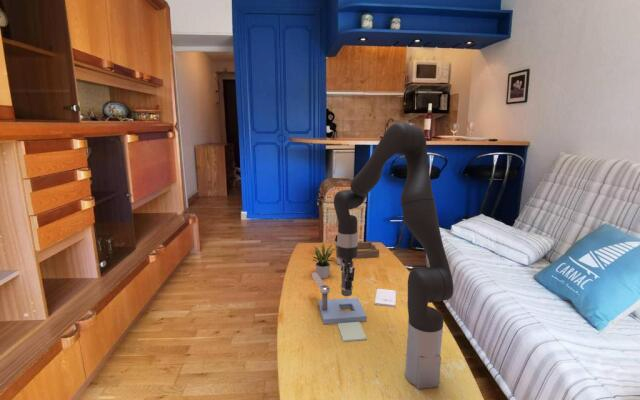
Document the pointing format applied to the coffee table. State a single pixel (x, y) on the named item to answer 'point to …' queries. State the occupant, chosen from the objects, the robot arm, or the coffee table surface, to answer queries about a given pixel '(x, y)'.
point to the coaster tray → (367, 253)
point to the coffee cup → (336, 252)
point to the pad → (351, 331)
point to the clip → (321, 283)
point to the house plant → (323, 261)
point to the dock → (333, 310)
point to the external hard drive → (385, 297)
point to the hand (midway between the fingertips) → (346, 286)
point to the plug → (343, 290)
